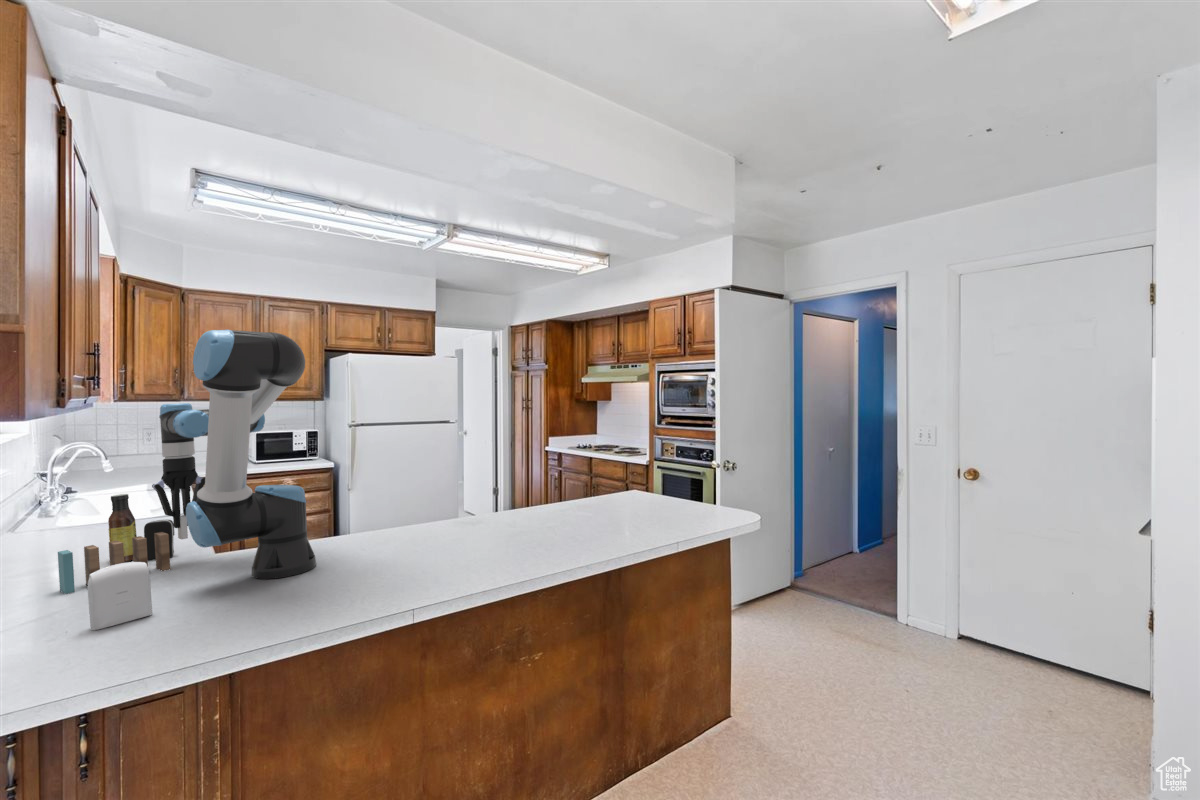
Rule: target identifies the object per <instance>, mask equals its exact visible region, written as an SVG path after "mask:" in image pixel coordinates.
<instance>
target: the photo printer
mask: <svg viewBox="0 0 1200 800" xmlns="http://www.w3.org/2000/svg"><path fill="white" fill-rule="evenodd" d="M150 575H151V574H150V569H149V566H148V567H147V564H146V563H145V562H133V561H131V562H130V561H127V562H124V563H121V564H116V565H112V566H110V565H109V566H107V567H103V568H100V570H98V571H96V572H93V573H92V574H90V575H89V580H88V586H87V585H86V586H87V598H88V599H87V600H88V611H89V612H88V613H89V624H90V630H92V631H99V630H102V629H105V628H108V627H109V628H110V627H112V626H116V625H120V624H124V623H127V622H131V621H135V620H138V619H141V618H145V617H149V616H151V615H152V614H153V604H152V603H153V601H152V587H151V586H152V585H151V576H150Z"/></svg>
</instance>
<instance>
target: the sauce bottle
mask: <svg viewBox="0 0 1200 800" xmlns="http://www.w3.org/2000/svg"><path fill="white" fill-rule="evenodd" d="M110 501H111V507H112V509H111V510H112V512H111V514H110V516H109V517H108V519H107V521H108V536H109V539H108V540H109V542H112V541H120V542H122V543H123V549H124V563H128V562H130V561H131V560H132V561H133V545H132V538H133V537H138V536H137V535H138V534H137V523H136V519H135V517H134V514H133V513H132V511H131V509H130V506H129V505H130V504H129V493H120V494H114V495H111V496H110ZM132 561H131V562H132Z"/></svg>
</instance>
